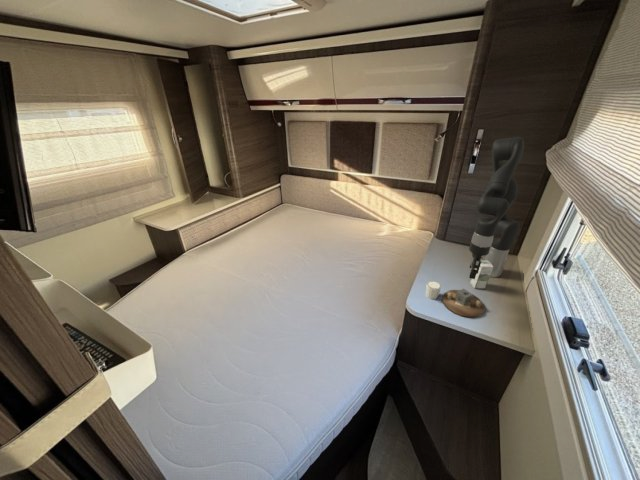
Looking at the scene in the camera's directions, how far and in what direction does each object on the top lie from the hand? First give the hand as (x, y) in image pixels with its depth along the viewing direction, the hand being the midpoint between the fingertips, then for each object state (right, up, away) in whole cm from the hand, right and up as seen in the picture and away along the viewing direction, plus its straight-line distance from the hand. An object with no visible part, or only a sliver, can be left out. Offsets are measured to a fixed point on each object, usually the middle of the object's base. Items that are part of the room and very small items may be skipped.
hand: (472, 273), depth 120 cm
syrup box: (+15, -9, +20) cm, 27 cm away
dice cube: (0, -15, +8) cm, 17 cm away
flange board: (0, -16, +8) cm, 18 cm away
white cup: (-12, -14, +14) cm, 23 cm away
